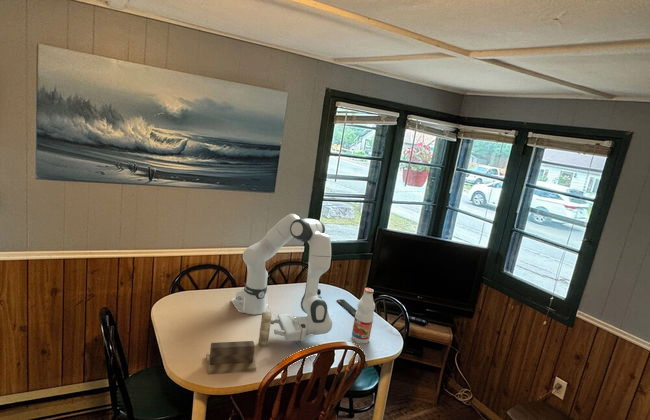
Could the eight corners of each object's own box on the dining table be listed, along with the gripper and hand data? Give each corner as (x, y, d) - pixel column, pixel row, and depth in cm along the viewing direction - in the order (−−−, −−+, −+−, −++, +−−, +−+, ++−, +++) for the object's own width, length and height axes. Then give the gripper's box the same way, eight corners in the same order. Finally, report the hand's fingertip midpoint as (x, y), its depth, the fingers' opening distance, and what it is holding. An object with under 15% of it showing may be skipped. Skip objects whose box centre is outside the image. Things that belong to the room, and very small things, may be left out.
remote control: (356, 320, 237) (356, 318, 237) (335, 301, 258) (336, 299, 257) (364, 319, 240) (364, 317, 240) (342, 301, 260) (343, 299, 260)
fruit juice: (372, 341, 216) (382, 291, 210) (360, 345, 209) (370, 294, 203) (359, 332, 222) (368, 284, 216) (347, 337, 216) (356, 287, 210)
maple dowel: (256, 343, 197) (260, 312, 194) (264, 340, 200) (268, 310, 197) (261, 347, 194) (265, 316, 191) (269, 345, 197) (273, 314, 194)
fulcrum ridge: (207, 374, 169) (209, 353, 167) (206, 357, 180) (208, 337, 178) (256, 370, 176) (258, 350, 174) (251, 354, 187) (253, 336, 185)
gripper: (295, 310, 210) (268, 310, 205) (306, 330, 192) (277, 331, 187) (293, 321, 212) (267, 322, 207) (304, 342, 193) (276, 344, 188)
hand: (272, 326), depth 197 cm, fingers open, 8 cm apart
